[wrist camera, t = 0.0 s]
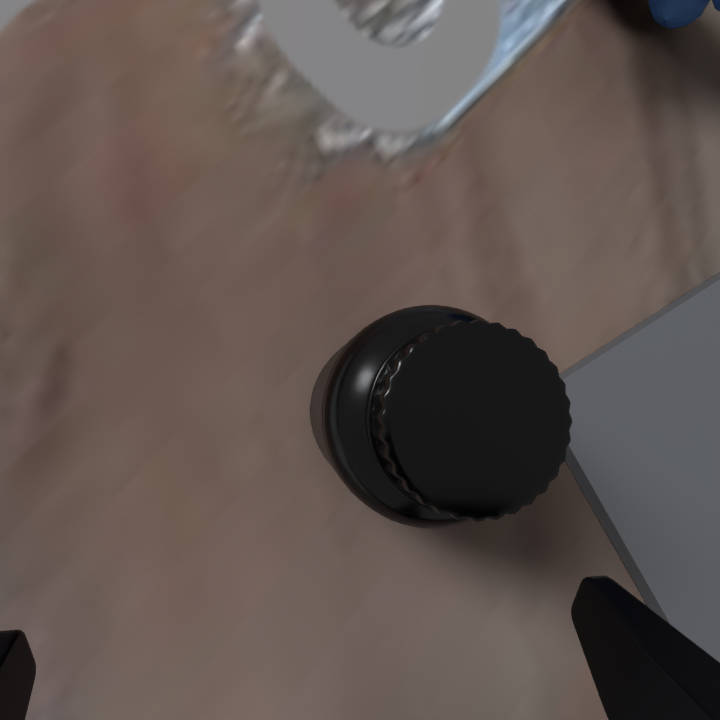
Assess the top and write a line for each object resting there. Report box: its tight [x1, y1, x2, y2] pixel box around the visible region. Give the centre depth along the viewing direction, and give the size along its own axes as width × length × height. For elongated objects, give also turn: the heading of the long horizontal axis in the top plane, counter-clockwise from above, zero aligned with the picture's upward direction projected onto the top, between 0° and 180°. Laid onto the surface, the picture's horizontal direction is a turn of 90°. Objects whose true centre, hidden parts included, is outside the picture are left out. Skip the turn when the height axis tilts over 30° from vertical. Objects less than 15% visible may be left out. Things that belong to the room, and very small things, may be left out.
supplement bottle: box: [310, 305, 572, 529], centre depth 18 cm, size 7×7×12 cm
